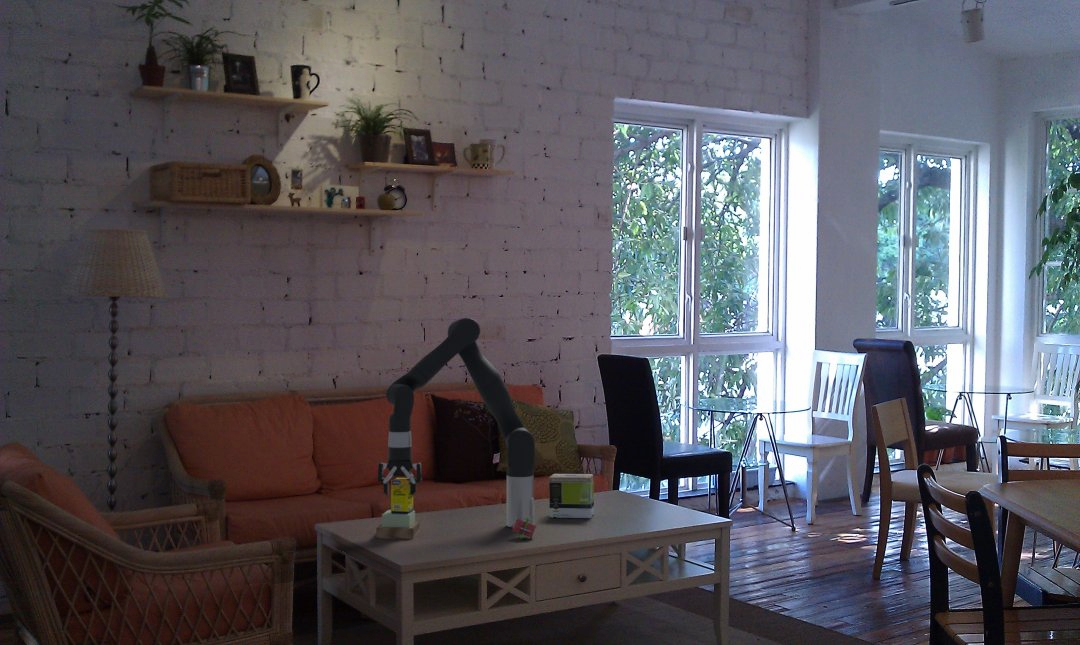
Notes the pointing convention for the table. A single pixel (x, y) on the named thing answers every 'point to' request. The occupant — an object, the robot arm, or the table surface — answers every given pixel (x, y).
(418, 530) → the walnut base slab
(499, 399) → the robot arm
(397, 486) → the supplement box
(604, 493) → the table surface
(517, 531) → the geometric puzzle
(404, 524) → the sage top slab
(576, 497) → the tea box
